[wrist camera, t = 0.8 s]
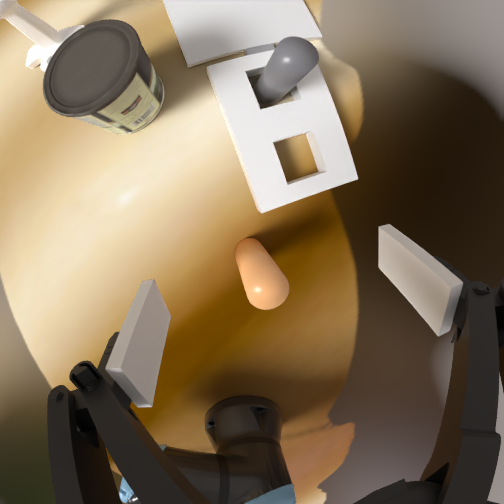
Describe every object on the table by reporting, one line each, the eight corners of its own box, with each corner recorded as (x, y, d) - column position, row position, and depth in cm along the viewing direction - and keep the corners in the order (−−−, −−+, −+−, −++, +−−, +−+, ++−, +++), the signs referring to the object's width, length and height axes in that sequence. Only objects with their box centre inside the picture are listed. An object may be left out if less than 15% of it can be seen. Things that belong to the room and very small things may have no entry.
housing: (347, 178, 37) (358, 179, 34) (257, 210, 36) (261, 213, 33) (301, 52, 30) (308, 44, 28) (207, 74, 30) (206, 66, 27)
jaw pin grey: (287, 100, 32) (324, 68, 20) (260, 107, 32) (286, 74, 20) (277, 75, 31) (309, 34, 19) (249, 82, 31) (270, 39, 19)
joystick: (90, 25, 24) (35, -39, 5) (85, 62, 26) (14, 4, 7) (35, 49, 23) (-32, 9, 4) (29, 86, 25) (-50, 57, 6)
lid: (325, 49, 31) (327, 47, 30) (192, 79, 30) (192, 77, 29) (286, -21, 26) (287, -24, 25) (163, 2, 25) (162, -1, 24)
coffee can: (113, 61, 27) (74, 17, 14) (177, 75, 29) (160, 25, 16) (83, 126, 29) (27, 108, 16) (146, 144, 31) (108, 126, 18)
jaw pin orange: (267, 259, 38) (294, 300, 26) (240, 270, 38) (255, 315, 26) (258, 233, 37) (282, 263, 25) (230, 244, 37) (240, 279, 24)
